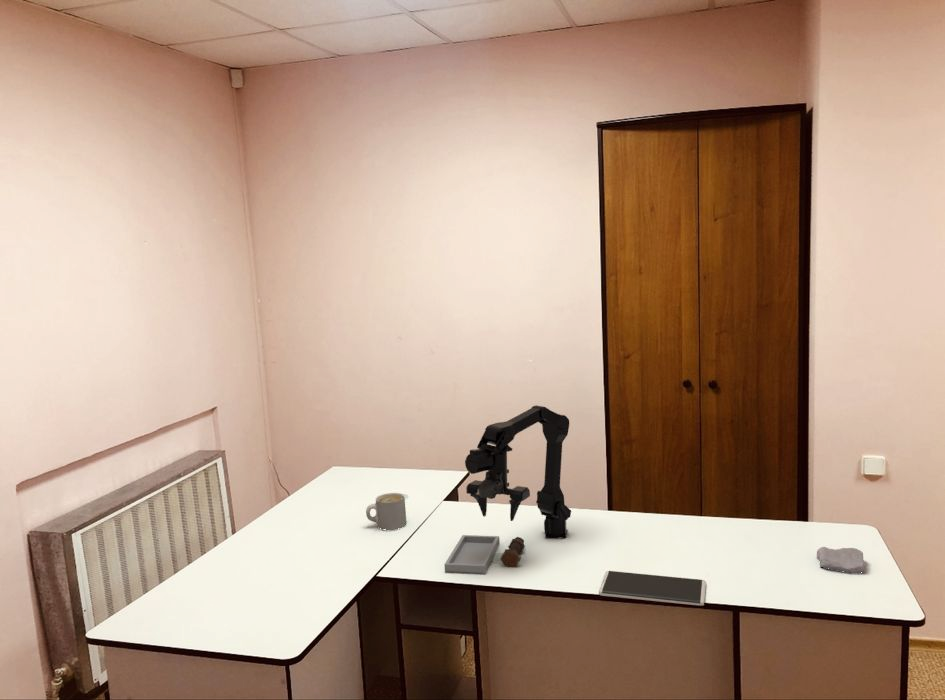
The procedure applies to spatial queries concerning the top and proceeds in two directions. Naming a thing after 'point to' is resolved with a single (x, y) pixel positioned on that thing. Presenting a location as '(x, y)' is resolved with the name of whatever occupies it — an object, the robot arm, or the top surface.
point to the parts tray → (472, 554)
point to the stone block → (841, 559)
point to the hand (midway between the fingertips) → (498, 518)
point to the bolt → (513, 552)
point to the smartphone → (653, 588)
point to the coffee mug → (389, 511)
